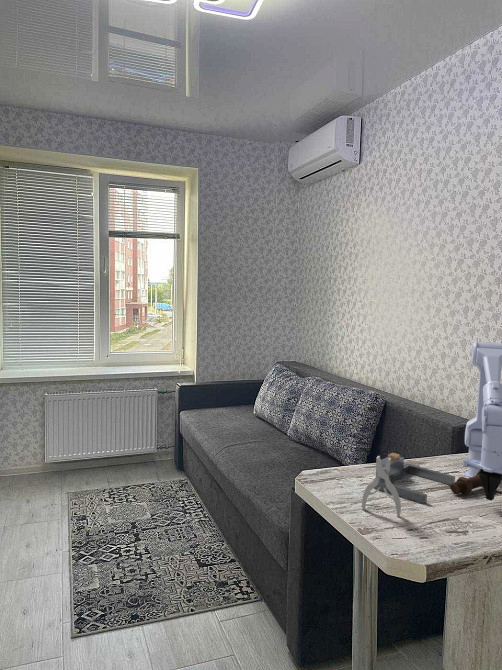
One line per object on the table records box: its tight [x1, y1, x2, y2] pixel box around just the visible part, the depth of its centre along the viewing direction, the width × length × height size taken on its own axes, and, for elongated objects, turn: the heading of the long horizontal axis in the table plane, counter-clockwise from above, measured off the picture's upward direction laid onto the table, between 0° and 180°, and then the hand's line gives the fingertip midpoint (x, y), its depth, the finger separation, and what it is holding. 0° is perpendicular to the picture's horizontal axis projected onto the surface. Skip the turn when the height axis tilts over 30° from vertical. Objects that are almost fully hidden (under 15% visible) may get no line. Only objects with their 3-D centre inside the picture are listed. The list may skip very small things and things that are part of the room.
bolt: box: [449, 470, 484, 496], centre depth 150 cm, size 6×5×15 cm
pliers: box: [361, 455, 402, 518], centre depth 133 cm, size 10×2×15 cm, turn 64°
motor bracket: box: [373, 452, 456, 505], centre depth 153 cm, size 21×18×7 cm
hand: (490, 498), depth 138 cm, fingers closed
